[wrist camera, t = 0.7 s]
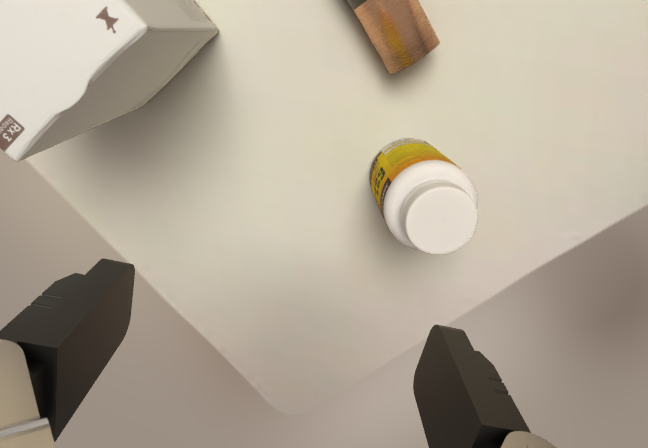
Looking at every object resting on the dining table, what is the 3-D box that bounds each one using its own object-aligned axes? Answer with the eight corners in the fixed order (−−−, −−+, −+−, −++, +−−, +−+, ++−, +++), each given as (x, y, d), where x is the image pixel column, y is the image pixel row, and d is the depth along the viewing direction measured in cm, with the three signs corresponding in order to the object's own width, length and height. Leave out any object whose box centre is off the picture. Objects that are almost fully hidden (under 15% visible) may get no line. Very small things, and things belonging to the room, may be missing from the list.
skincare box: (157, -45, 29) (15, -135, 15) (225, 35, 30) (154, 21, 17) (70, 47, 30) (-131, 44, 17) (139, 117, 32) (10, 168, 18)
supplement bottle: (361, 145, 33) (382, 184, 24) (437, 128, 33) (489, 160, 23) (375, 216, 35) (399, 277, 26) (446, 200, 35) (498, 257, 25)
